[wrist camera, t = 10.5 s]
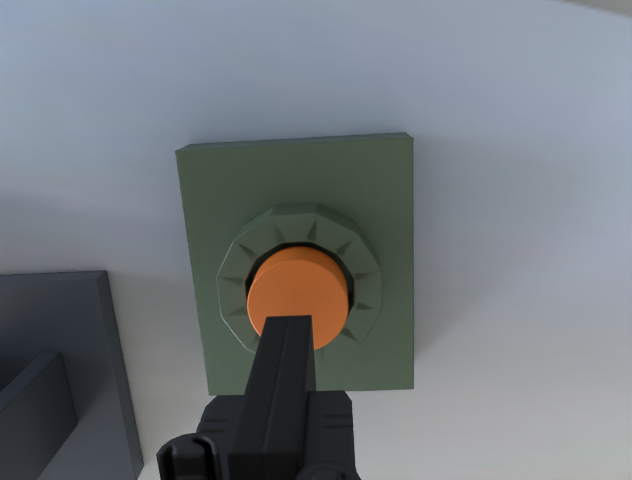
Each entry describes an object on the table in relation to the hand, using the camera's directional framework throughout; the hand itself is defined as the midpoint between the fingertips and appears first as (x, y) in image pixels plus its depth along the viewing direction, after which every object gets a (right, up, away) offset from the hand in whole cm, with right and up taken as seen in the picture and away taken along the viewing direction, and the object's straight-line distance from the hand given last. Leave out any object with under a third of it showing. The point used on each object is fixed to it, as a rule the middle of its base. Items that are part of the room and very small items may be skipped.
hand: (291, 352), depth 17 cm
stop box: (0, +3, +8) cm, 9 cm away
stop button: (0, +2, +5) cm, 5 cm away
